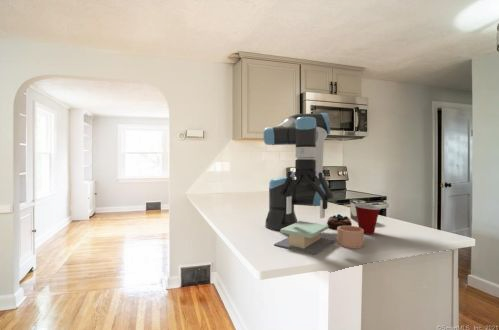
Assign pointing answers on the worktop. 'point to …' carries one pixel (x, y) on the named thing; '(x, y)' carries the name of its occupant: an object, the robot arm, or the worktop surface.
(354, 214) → the food container
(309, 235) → the sheet
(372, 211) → the plastic cup
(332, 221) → the pastry
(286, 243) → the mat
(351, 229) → the bowl
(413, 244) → the worktop surface
